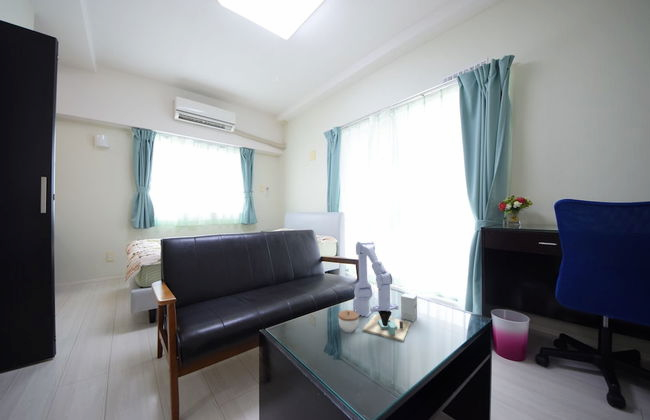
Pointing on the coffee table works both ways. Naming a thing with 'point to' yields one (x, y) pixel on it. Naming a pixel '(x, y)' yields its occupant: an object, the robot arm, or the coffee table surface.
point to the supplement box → (409, 306)
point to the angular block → (389, 326)
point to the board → (376, 329)
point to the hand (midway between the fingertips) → (384, 325)
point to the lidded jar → (348, 320)
